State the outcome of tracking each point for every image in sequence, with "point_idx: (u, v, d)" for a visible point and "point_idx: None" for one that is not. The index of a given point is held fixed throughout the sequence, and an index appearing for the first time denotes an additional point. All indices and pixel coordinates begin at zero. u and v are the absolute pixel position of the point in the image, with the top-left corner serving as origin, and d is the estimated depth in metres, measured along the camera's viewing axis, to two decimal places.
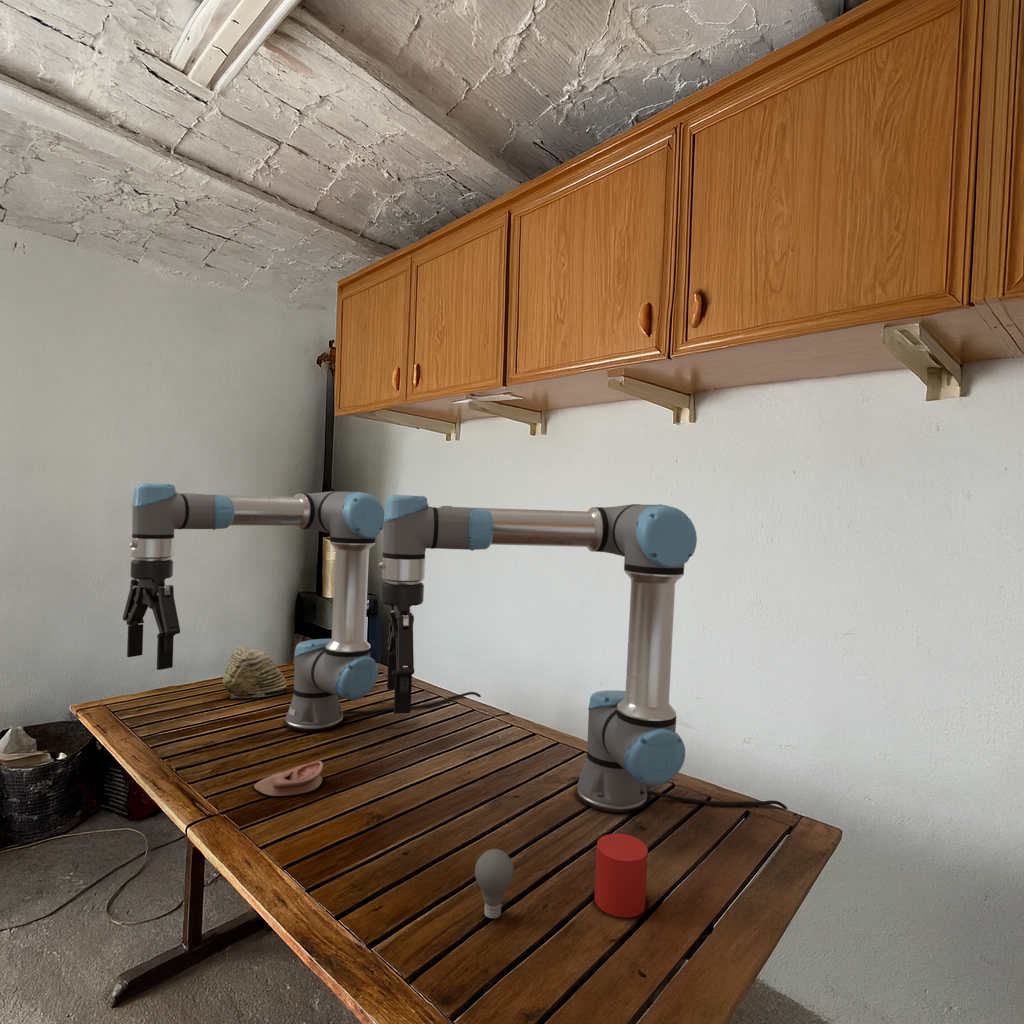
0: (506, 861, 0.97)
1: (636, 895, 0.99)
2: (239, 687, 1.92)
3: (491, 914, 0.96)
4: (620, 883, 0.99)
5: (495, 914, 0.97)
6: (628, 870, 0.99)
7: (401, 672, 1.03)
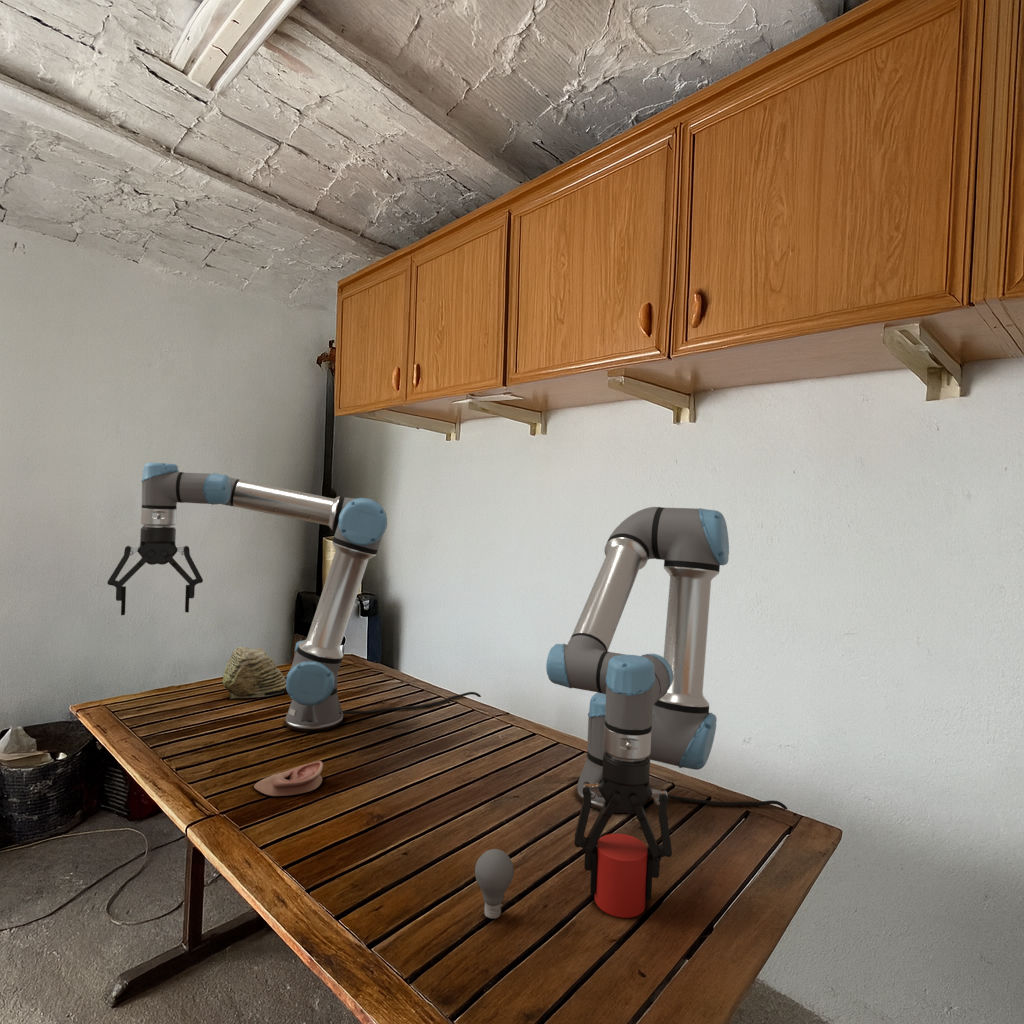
0: (506, 861, 0.97)
1: (636, 895, 0.99)
2: (239, 687, 1.92)
3: (491, 914, 0.96)
4: (620, 883, 0.99)
5: (495, 914, 0.97)
6: (628, 870, 0.99)
7: (671, 852, 1.01)
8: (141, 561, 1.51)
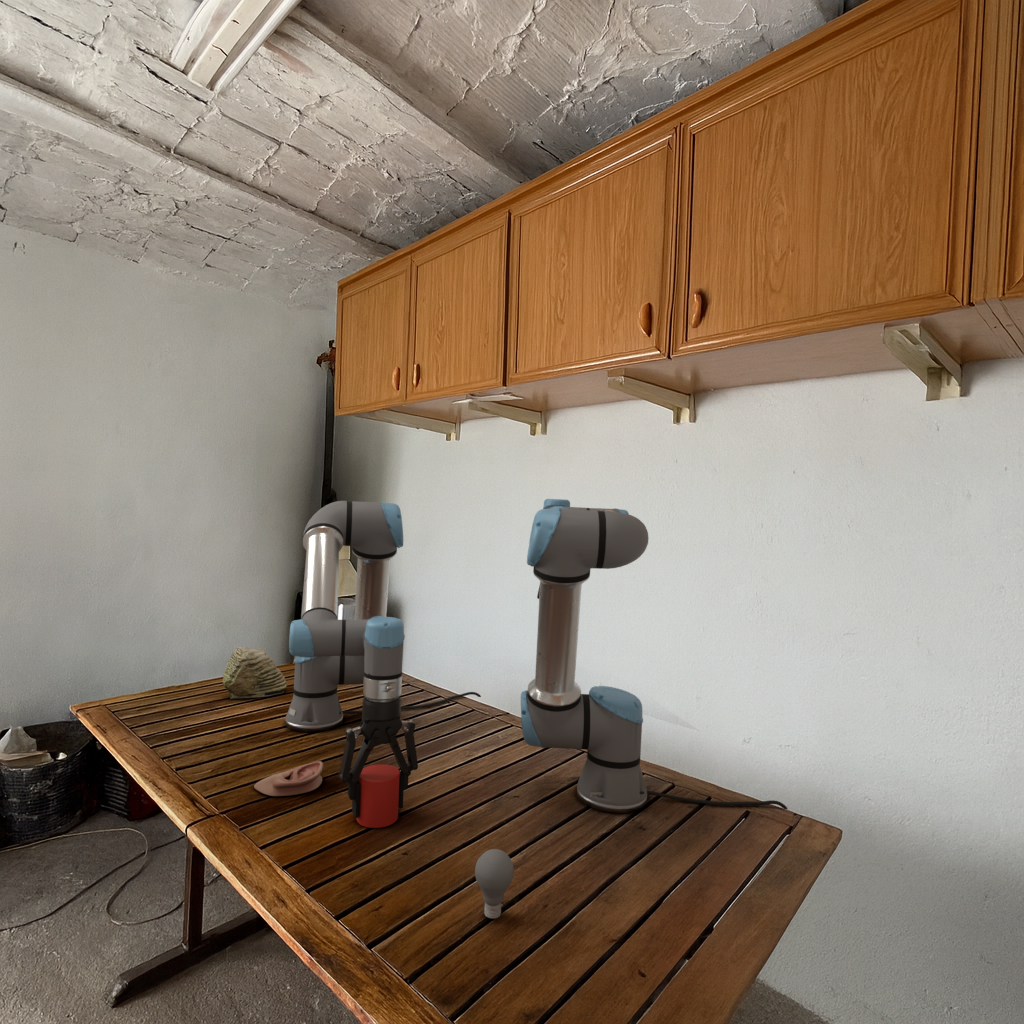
0: (506, 861, 0.97)
1: (361, 808, 1.23)
2: (239, 687, 1.92)
3: (491, 914, 0.96)
4: None
5: (495, 914, 0.97)
6: None
7: None
8: (369, 746, 1.23)
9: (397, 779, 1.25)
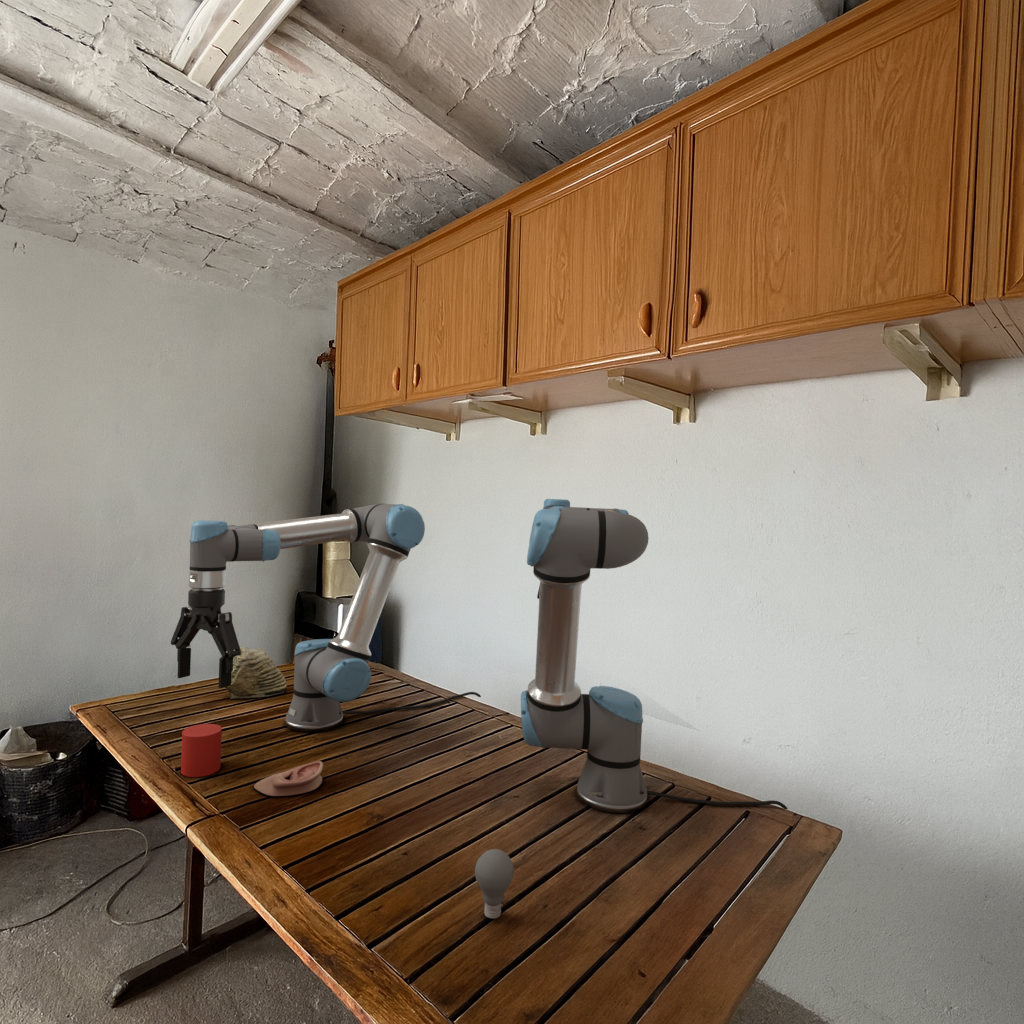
0: (506, 861, 0.97)
1: None
2: (239, 687, 1.92)
3: (491, 914, 0.96)
4: None
5: (495, 914, 0.97)
6: None
7: None
8: (189, 624, 1.44)
9: (199, 739, 1.40)
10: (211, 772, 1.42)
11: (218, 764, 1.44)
